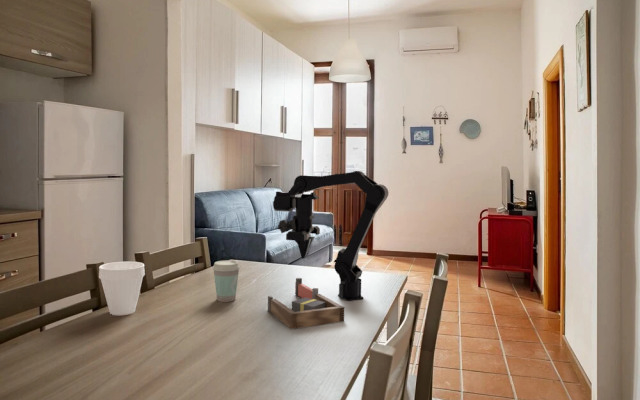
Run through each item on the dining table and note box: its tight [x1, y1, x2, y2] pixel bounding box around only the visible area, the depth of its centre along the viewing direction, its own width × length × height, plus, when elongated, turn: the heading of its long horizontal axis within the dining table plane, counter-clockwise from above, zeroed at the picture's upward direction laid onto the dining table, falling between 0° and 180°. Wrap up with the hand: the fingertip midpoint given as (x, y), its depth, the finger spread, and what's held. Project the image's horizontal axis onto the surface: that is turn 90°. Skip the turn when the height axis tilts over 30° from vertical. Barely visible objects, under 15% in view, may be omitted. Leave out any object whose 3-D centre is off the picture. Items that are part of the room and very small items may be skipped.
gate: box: [294, 277, 319, 299], centre depth 155 cm, size 15×2×6 cm, turn 27°
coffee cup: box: [212, 259, 241, 303], centre depth 154 cm, size 8×8×12 cm
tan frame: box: [267, 293, 345, 330], centre depth 138 cm, size 16×18×4 cm
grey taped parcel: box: [291, 297, 326, 312], centre depth 141 cm, size 6×8×4 cm
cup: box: [98, 260, 146, 316], centre depth 139 cm, size 12×12×14 cm
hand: (303, 258), depth 163 cm, fingers closed
